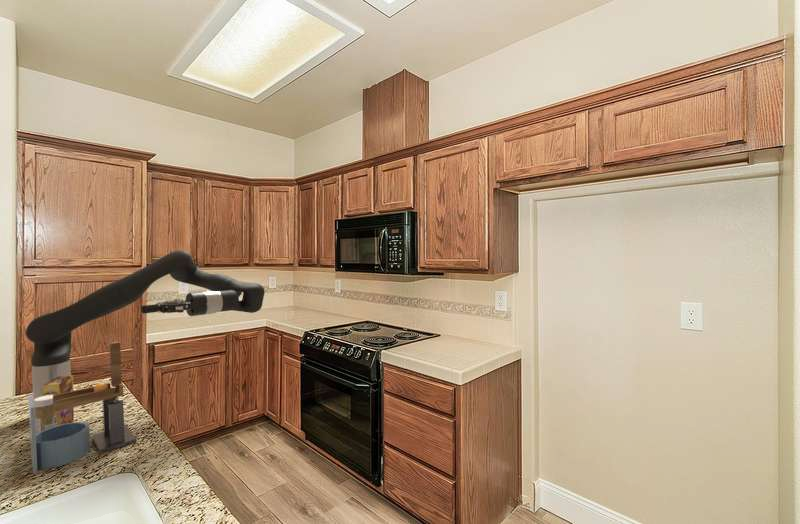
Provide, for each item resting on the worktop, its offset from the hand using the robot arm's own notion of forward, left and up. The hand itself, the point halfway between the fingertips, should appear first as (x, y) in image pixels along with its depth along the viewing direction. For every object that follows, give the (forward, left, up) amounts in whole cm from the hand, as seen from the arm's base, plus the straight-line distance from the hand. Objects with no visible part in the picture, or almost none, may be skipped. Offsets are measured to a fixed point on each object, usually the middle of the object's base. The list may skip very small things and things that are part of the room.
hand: (141, 309), depth 110 cm
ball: (-3, -10, -20) cm, 23 cm away
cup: (-5, -18, -36) cm, 40 cm away
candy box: (-24, -11, -36) cm, 45 cm away
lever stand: (-2, -8, -36) cm, 37 cm away
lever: (-3, -12, -24) cm, 27 cm away
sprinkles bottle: (-16, -17, -36) cm, 43 cm away
